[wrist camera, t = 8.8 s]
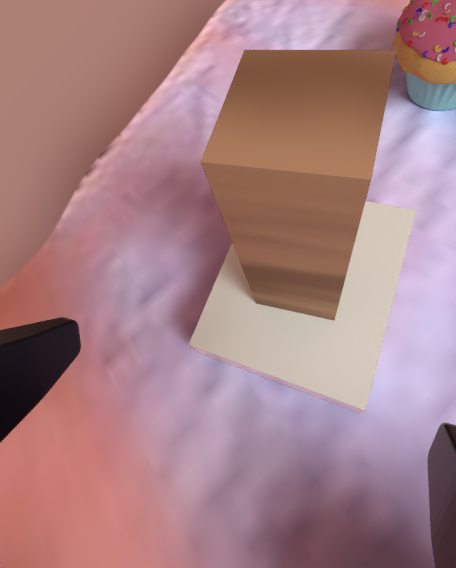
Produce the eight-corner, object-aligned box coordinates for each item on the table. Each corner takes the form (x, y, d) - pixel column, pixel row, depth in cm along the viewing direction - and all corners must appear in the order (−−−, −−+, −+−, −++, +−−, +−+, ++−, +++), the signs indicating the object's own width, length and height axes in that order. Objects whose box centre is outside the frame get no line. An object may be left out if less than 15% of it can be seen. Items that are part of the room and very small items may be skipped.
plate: (358, 412, 20) (365, 410, 17) (200, 353, 23) (188, 344, 20) (405, 232, 23) (416, 210, 21) (262, 202, 26) (258, 180, 24)
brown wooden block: (334, 320, 19) (371, 179, 8) (256, 303, 21) (200, 161, 10) (349, 249, 21) (396, 50, 10) (274, 237, 22) (244, 49, 11)
